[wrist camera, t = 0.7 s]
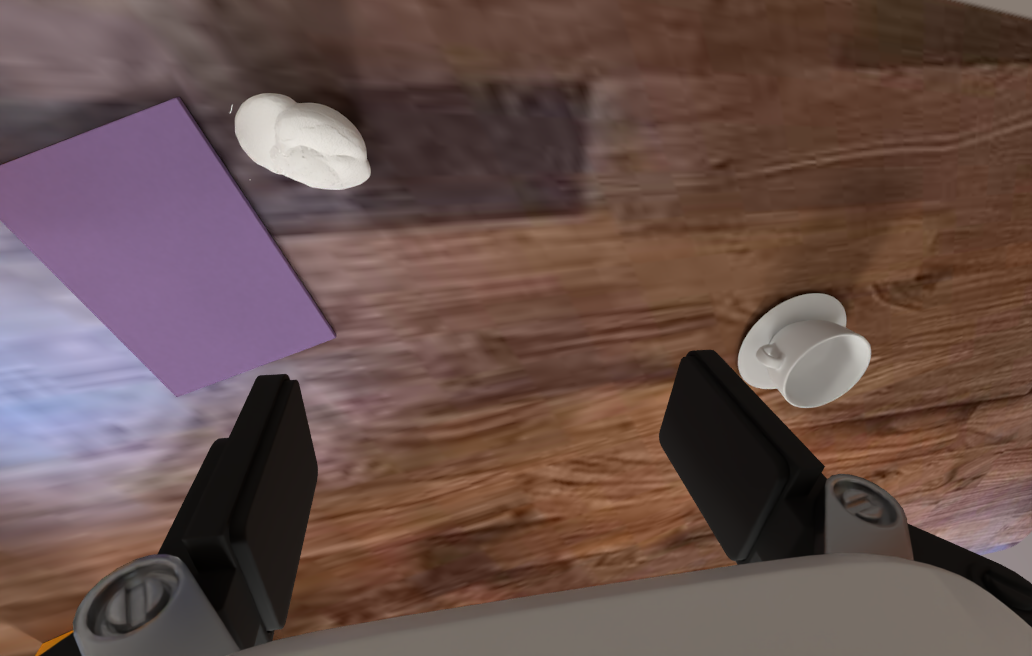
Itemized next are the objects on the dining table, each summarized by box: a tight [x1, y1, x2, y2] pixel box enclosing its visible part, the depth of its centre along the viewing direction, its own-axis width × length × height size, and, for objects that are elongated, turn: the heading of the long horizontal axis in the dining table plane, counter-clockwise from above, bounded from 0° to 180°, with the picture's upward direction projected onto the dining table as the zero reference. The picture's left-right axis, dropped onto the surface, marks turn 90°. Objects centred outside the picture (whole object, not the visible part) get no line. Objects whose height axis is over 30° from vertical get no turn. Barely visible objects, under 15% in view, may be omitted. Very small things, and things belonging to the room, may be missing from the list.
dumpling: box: [230, 93, 371, 190], centre depth 25 cm, size 7×5×4 cm
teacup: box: [738, 293, 871, 408], centre depth 39 cm, size 10×10×5 cm
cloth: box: [0, 97, 336, 397], centre depth 29 cm, size 16×12×1 cm
